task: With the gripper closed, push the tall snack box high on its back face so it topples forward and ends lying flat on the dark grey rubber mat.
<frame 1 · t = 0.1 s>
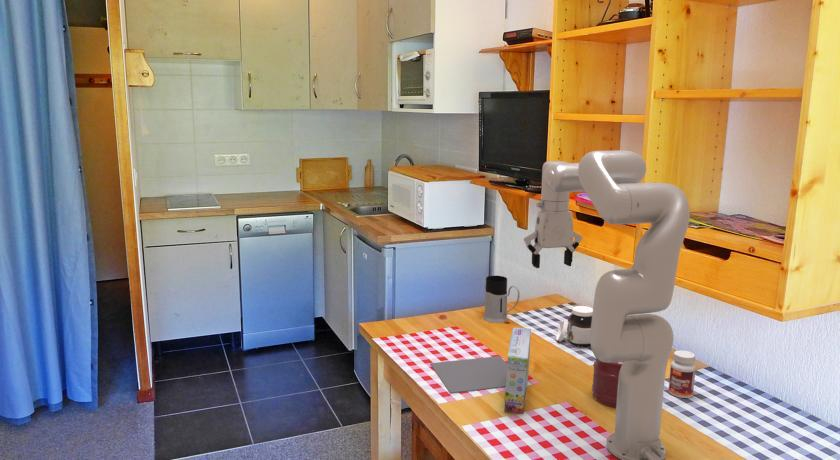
hand: (551, 266, 179), 31 cm above the table, tool pointing down, fingers open, 9 cm apart
snack box: (516, 394, 169), on the table, touching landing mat
canister: (616, 398, 168), on the table
spread jar: (574, 343, 206), on the table
grey mug: (501, 320, 227), on the table
pill bottle: (680, 394, 170), on the table
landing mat: (476, 374, 182), on the table
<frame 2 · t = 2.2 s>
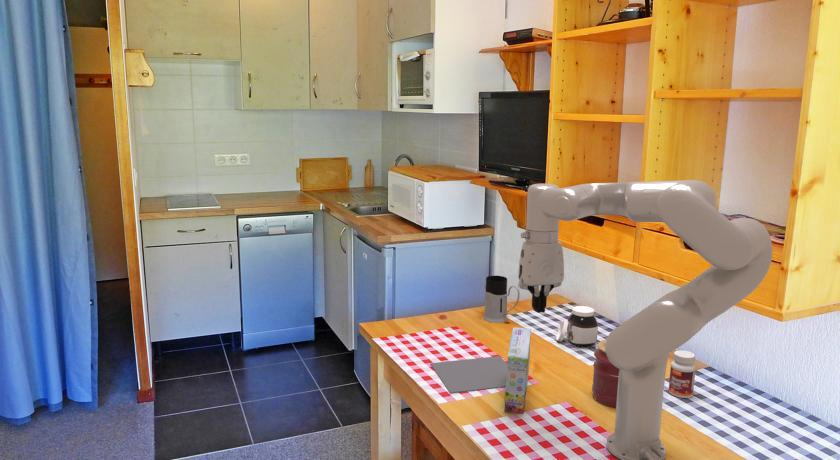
hand: (538, 310, 153), 27 cm above the table, tool pointing down, fingers closed
nothing on the table moved.
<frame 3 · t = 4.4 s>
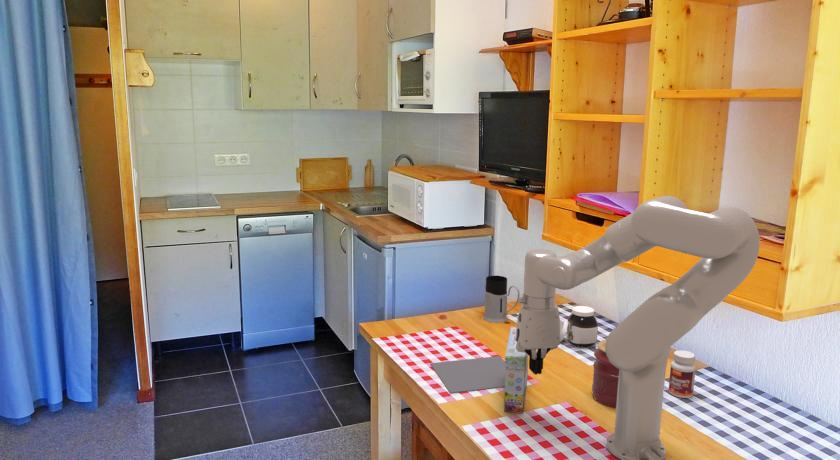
hand: (535, 371, 157), 11 cm above the table, tool pointing down, fingers closed
nothing on the table moved.
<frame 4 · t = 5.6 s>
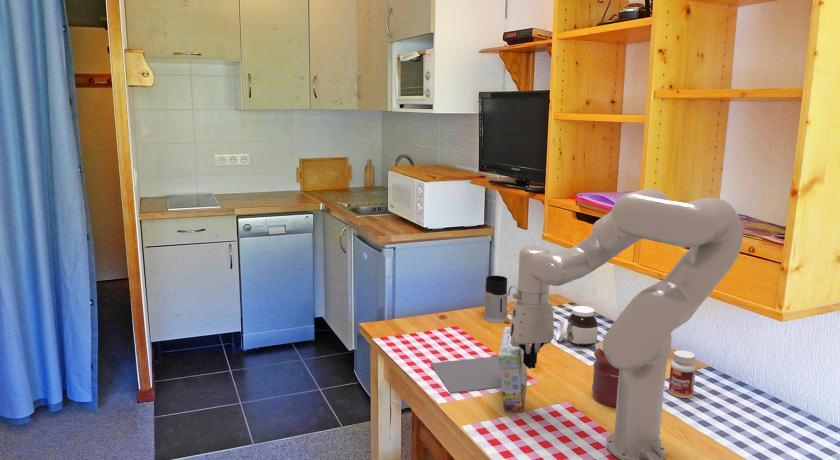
hand: (529, 366, 160), 11 cm above the table, tool pointing down, fingers closed
snack box: (516, 393, 169), on the table, touching gripper, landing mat
everything else where it was.
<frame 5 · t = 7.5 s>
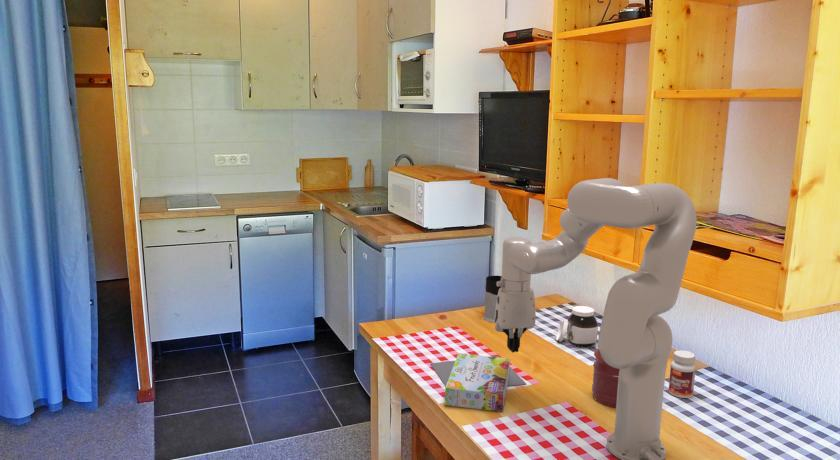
hand: (513, 350, 170), 11 cm above the table, tool pointing down, fingers closed
snack box: (507, 383, 169), point 3 cm above the table, touching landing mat
everything else where it was.
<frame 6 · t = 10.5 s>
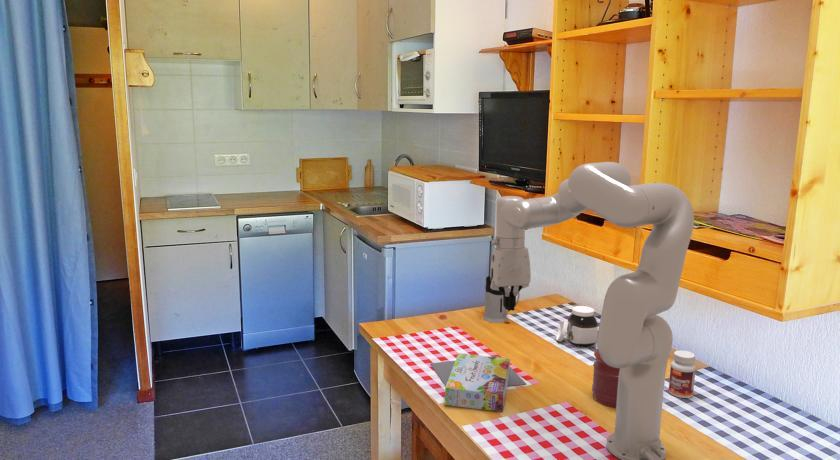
hand: (509, 309, 172), 21 cm above the table, tool pointing down, fingers closed
nothing on the table moved.
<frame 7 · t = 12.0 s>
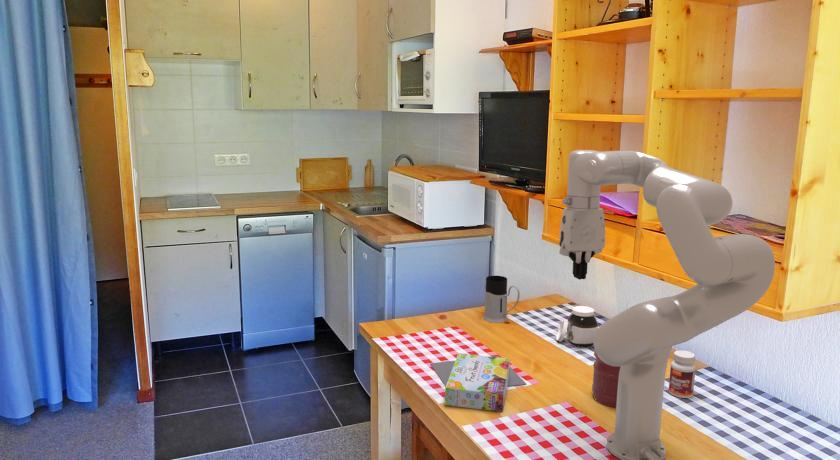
hand: (579, 277, 153), 35 cm above the table, tool pointing down, fingers closed
nothing on the table moved.
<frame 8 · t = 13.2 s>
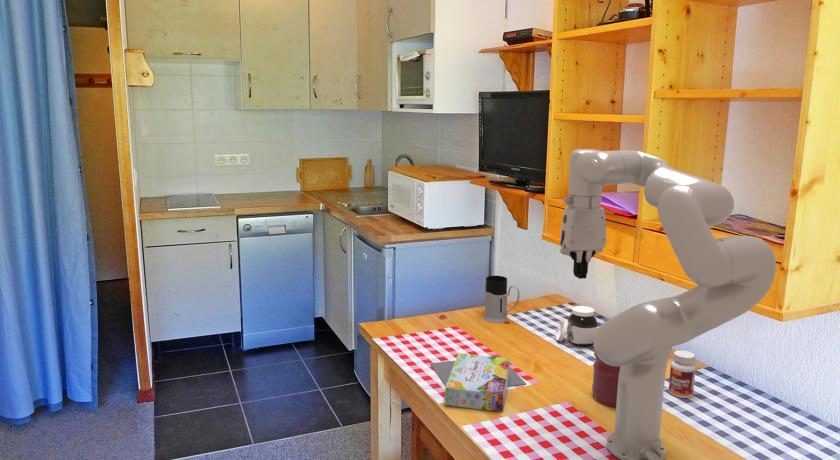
hand: (580, 277, 153), 35 cm above the table, tool pointing down, fingers closed
nothing on the table moved.
at the end: snack box tilted 90°; snack box touching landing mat, table; snack box inside the target area (10.7 cm from its centre), point 3.1 cm above the table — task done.
